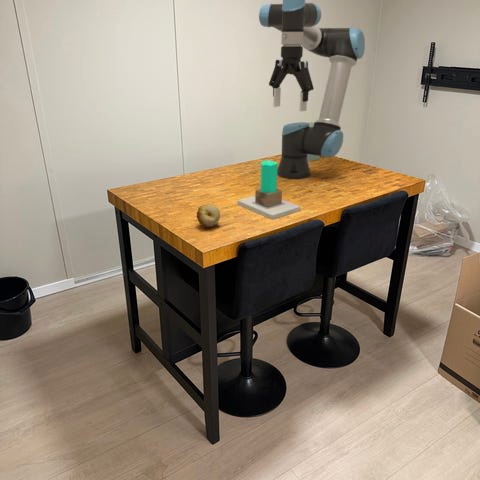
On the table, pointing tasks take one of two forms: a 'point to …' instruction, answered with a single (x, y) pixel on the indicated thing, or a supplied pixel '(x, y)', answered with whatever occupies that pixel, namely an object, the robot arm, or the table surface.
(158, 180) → the table surface
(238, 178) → the table surface
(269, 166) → the candle
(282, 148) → the robot arm
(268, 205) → the walnut block
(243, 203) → the slab
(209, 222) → the fruit
